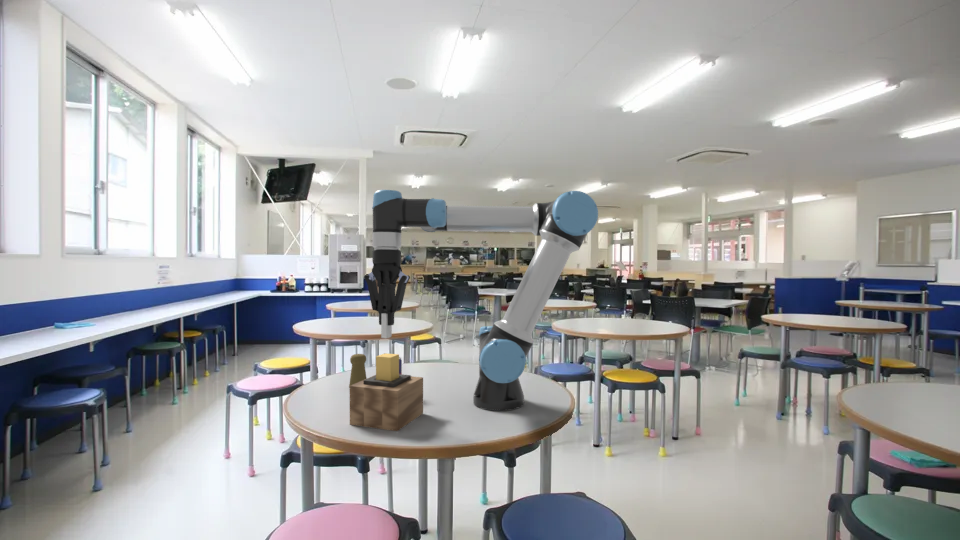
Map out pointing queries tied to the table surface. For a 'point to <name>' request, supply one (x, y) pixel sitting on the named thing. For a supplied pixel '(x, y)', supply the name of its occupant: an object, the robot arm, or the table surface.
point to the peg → (387, 367)
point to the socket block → (386, 402)
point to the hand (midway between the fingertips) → (386, 337)
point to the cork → (357, 368)
